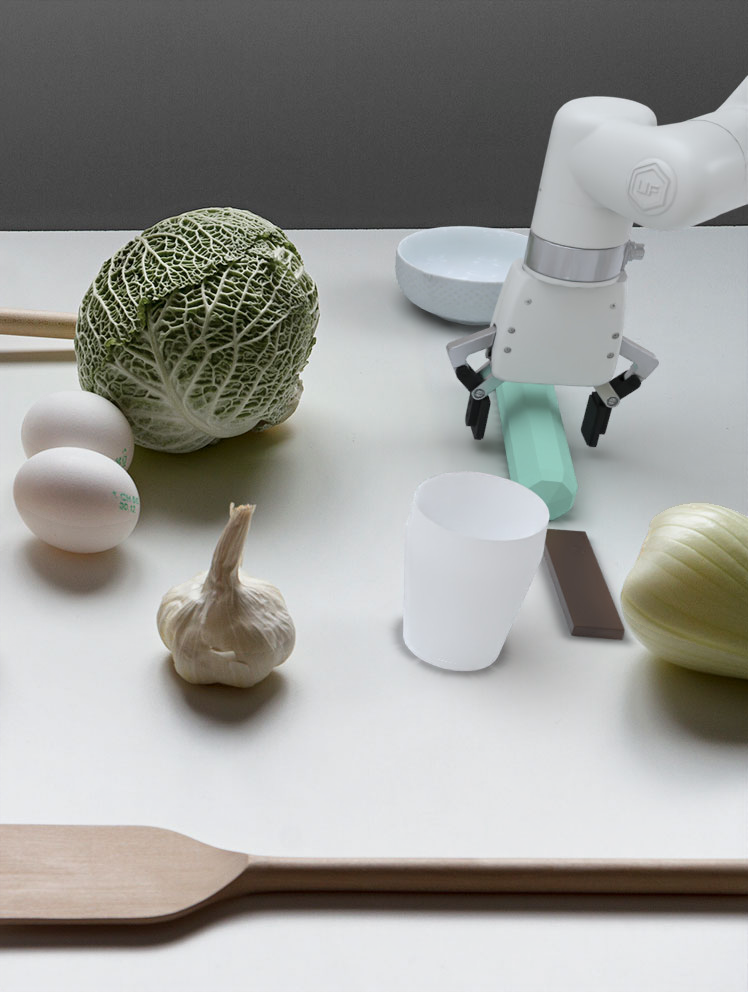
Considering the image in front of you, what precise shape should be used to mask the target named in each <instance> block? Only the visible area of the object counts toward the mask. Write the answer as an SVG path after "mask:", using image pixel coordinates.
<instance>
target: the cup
mask: <svg viewBox="0 0 748 992" xmlns="http://www.w3.org/2000/svg"><path fill="white" fill-rule="evenodd" d="M409 510H410V511H409V515H408V518H407V521H406V524H405V528H404V544H403V545H404V547H403V549H404V550H403V553H404V554H403V611H402V612H403V614H402V615H403V617H402V619H403V620H402V621H403V622H402V637H403V641H404V643H405V645H406V647H407V648H408V650H410V652H411V653H412V654H413V655H414V656H416V657H417V658H418V659H420V660H422V661H424V662H425V663H427V664H430V665H431V666H434V667H436V668H440V669H444V670H448V671H454V672H474V671H478V670H482V669H485V668H487V667H489V666H491V665H492V664H494V663H495V662H496V661H497V659H498V657H499V655H500V654H501V651H502V649H503V646H504V644H505V642H506V640H507V638H508V636H509V633H510V631H511V629H512V627H513V625H514V622H515V620H516V618H517V616H518V614H519V611H520V609H521V608H522V604H523V603H524V601H525V598H526V596H527V594H528V592H529V589H530V587H531V585H532V584H533V581H534V578H535V576H536V575H537V572H538V570H539V567H540V565H541V563H542V560H543V557H544V554H543V552H544V544H545V538H546V532H547V529H548V527H549V523H550V522H549V521H550V520H549V510H548V508H547V506H546V504H545V503H544V501H543V500H542V499H541V498H540V497H539V496H538V495H537V494H535V493H534V492H533V491H531V490H530V489H528V488H526V487H524V486H523V485H520V484H518V483H516V482H514V481H511V480H510V479H508V478H505V477H502V476H498V475H494V474H490V473H485V472H476V471H451V472H444V473H439V474H436V475H433V476H430V477H428V478H426V479H424V480H423V481H422V482H420V483H419V484H418V486H417V487H416V489H415V491H414V494H413V499H412V503H411V507H410V509H409ZM418 649H419V650H418ZM421 651H422V652H421ZM424 653H425V654H424ZM426 654H427V655H426ZM428 655H429V656H428ZM433 657H434V658H433ZM435 658H436V659H435ZM438 659H440V660H438ZM441 660H444V661H441ZM445 661H447V662H445ZM449 662H450V663H449ZM451 662H452V663H451ZM455 663H456V664H455Z"/></svg>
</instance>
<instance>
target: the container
mask: <svg viewBox="0 0 748 992" xmlns="http://www.w3.org/2000/svg"><path fill="white" fill-rule="evenodd" d="M495 394H496V399H497V405H498V411H499V412H498V413H499V418H500V423H501V430H502V437H503V443H504V448H505V449H504V450H505V454H506V462H507V466H508V473H509V480H511V481H514V482H516V483H518V484H520V485H523V486H524V487H526V488H528V489H530V490H531V491H533V492H534V493H535V494H537V495H538V496H539V497H540V498H541V499H542V500H543V501H544V503H545V504H546V506H547V508H548V510H549V521H553V520H556V519H558V518H559V517H561V516H562V515H564V514H567V513H568V512H570V511H571V509H573V507H574V504H575V500H576V495H577V492H578V489H579V484H578V480H577V477H576V472H575V468H574V463H573V460H572V456H571V455H572V454H571V451H570V448H569V443H568V439H567V434H566V430H565V427H564V426H565V425H564V422H563V419H562V415H561V410H560V406H559V402H558V398H557V393H556V390H555V385H543V384H527V383H513V382H506V381H505V382H503V383H502V384H501V385H500V386H498V387H497V388H496V389H495Z"/></svg>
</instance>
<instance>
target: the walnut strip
mask: <svg viewBox="0 0 748 992" xmlns="http://www.w3.org/2000/svg"><path fill="white" fill-rule="evenodd" d="M543 557H544V560H545V563H546V566H547V568H548V571H549V574H550V577H551V580H552V582H553V583H552V584H553V586H554V589H555V592H556V595H557V598H558V600H559V602H560V603H559V604H560V606H561V609H562V612H563V615H564V618H565V621H566V624H567V627H568V630H569V633H570V635H571V637H580V638H592V639H603V640H605V639H607V640H617V641H622V640H623V638H624V634H625V631H626V630H625V627H624V624H623V621H622V620H621V617H620V614H619V612H618V609H617V607H616V604H615V602H614V600H613V597H612V594H611V592H610V589H609V587H608V584H607V582H606V579H605V576H604V574H603V571H602V570H601V566H600V564H599V561H598V559H597V557H596V555H595V552H594V549H593V547H592V544H591V542H590V539H589V536H588V534H587V532H586V531H584V530H574V529H572V530H571V529H570V530H569V529H559V528H547V532H546V538H545V544H544V552H543Z"/></svg>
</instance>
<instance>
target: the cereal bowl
mask: <svg viewBox="0 0 748 992" xmlns="http://www.w3.org/2000/svg"><path fill="white" fill-rule="evenodd" d="M528 237H529V235H525V234H521V233H518V232H515V231H509V230H505V229H499V228H492V227H485V226H484V227H483V226H468V225H466V226H465V225H463V226H462V225H457V226H454V225H453V226H440V227H434V228H433V227H432V228H427V229H424V230H423V229H422V230H419V231H416V232H413V233H412V234H409V235H407V236H405V237H404V238H403V239H401V241H399V243H398V245H397V247H396V250H395V258H394V259H395V260H394V269H395V278H396V282H397V284H398V286H399V289H400V290H401V292H402V293H403V294H404V297H405V298H407V299H408V300H409V301H410V302H411V303H412V304H414V305H416V306H417V307H418V308H420V309H422V310H424V311H426V312H429V313H430V314H432V315H435V316H437V317H438V318H441V319H442V320H444V321H445V320H446V321H448V322H451V323H455V324H460V325H466V326H490V324H491V321H492V317H493V314H494V311H495V307H496V304H497V301H498V298H499V295H500V292H501V289H502V286H503V284H504V281H505V279H506V276H507V274H508V271H509V269H510V267H511V265H512V263H513V261H514V260H516V259H521V258H524V256H525V251H526V247H527V242H528Z"/></svg>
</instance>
